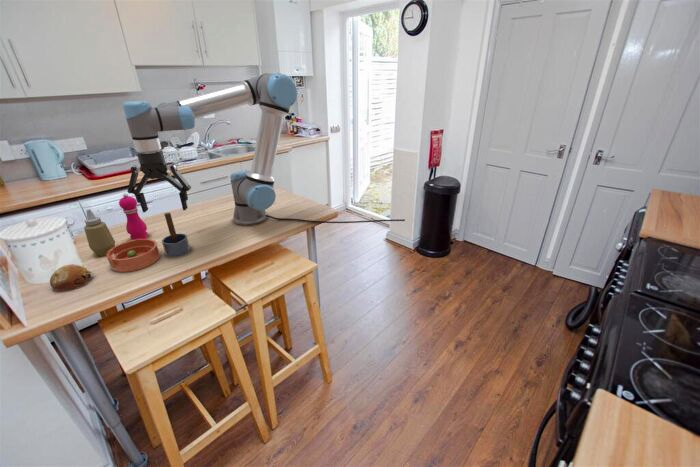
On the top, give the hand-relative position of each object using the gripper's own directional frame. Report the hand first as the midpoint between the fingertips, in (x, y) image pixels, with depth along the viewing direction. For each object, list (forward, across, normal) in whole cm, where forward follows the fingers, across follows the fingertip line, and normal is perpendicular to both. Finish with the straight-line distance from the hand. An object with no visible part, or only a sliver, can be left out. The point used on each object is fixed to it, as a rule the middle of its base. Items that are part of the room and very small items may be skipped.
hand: (165, 210), depth 116 cm
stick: (+17, 0, 0) cm, 17 cm away
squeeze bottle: (+18, +28, -4) cm, 33 cm away
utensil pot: (+18, 0, 0) cm, 18 cm away
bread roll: (+18, +28, +16) cm, 37 cm away
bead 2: (+16, +11, +7) cm, 20 cm away
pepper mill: (+18, +20, -15) cm, 31 cm away
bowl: (+18, +13, +5) cm, 23 cm away
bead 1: (+16, +15, +3) cm, 22 cm away
